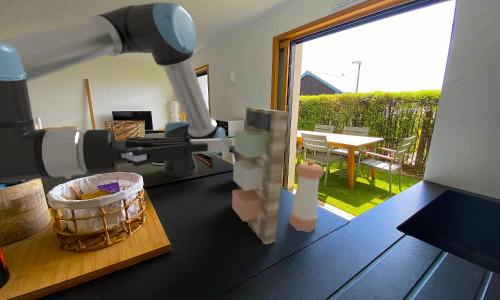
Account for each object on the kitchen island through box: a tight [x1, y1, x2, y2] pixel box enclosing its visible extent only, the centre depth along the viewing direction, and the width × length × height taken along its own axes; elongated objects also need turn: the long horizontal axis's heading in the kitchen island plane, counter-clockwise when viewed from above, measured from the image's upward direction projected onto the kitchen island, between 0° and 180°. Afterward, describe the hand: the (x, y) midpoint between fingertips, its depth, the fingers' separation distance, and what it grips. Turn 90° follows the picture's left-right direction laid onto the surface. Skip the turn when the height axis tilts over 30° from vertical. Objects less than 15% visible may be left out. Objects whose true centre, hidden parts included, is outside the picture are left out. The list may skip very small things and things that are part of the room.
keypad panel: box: [244, 107, 289, 245], centre depth 52 cm, size 14×4×32 cm, turn 27°
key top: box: [233, 129, 266, 158], centre depth 49 cm, size 7×5×5 cm
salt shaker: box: [289, 160, 324, 231], centre depth 56 cm, size 7×7×19 cm
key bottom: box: [231, 189, 261, 222], centre depth 53 cm, size 7×5×5 cm
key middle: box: [232, 160, 264, 191], centre depth 51 cm, size 7×5×5 cm
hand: (220, 145), depth 45 cm, fingers closed
